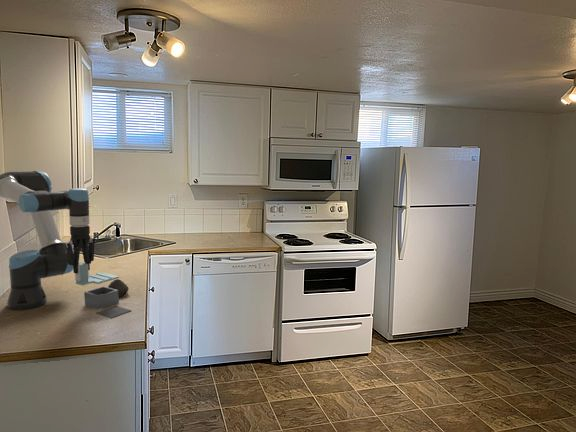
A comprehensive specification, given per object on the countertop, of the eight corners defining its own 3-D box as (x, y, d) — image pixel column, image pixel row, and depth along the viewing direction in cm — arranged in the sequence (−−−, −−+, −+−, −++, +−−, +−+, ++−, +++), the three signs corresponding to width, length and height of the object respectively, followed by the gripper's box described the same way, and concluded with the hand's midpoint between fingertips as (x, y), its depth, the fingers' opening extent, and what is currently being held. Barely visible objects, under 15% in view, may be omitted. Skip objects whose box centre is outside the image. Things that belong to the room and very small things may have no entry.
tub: (84, 304, 199) (84, 292, 198) (104, 298, 207) (103, 286, 206) (99, 309, 194) (98, 296, 193) (118, 302, 202) (118, 290, 202)
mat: (95, 313, 189) (95, 312, 189) (115, 306, 197) (115, 305, 197) (111, 318, 184) (111, 317, 184) (131, 311, 192) (131, 310, 192)
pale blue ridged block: (71, 282, 193) (70, 262, 192) (102, 273, 207) (102, 255, 205) (87, 287, 187) (86, 266, 186) (118, 278, 201) (118, 259, 200)
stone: (131, 302, 215) (130, 283, 221) (127, 293, 208) (126, 275, 214) (110, 306, 213) (109, 287, 219) (105, 298, 206) (105, 279, 212)
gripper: (67, 229, 179) (70, 285, 182) (102, 223, 193) (103, 276, 196) (56, 227, 183) (59, 282, 186) (90, 221, 196) (92, 273, 200)
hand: (82, 279), depth 191 cm, fingers closed on pale blue ridged block, 3 cm apart
